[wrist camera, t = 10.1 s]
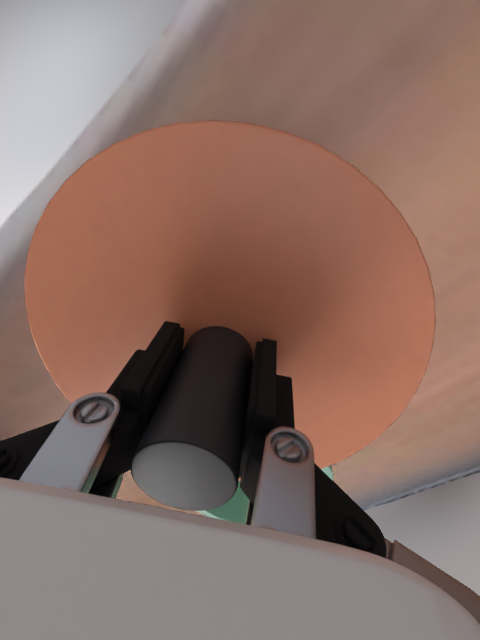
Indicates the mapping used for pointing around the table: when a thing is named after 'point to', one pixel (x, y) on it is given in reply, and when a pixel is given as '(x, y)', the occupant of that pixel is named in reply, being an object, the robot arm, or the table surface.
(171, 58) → the table surface
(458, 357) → the table surface
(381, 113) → the table surface
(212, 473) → the lid
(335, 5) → the table surface
